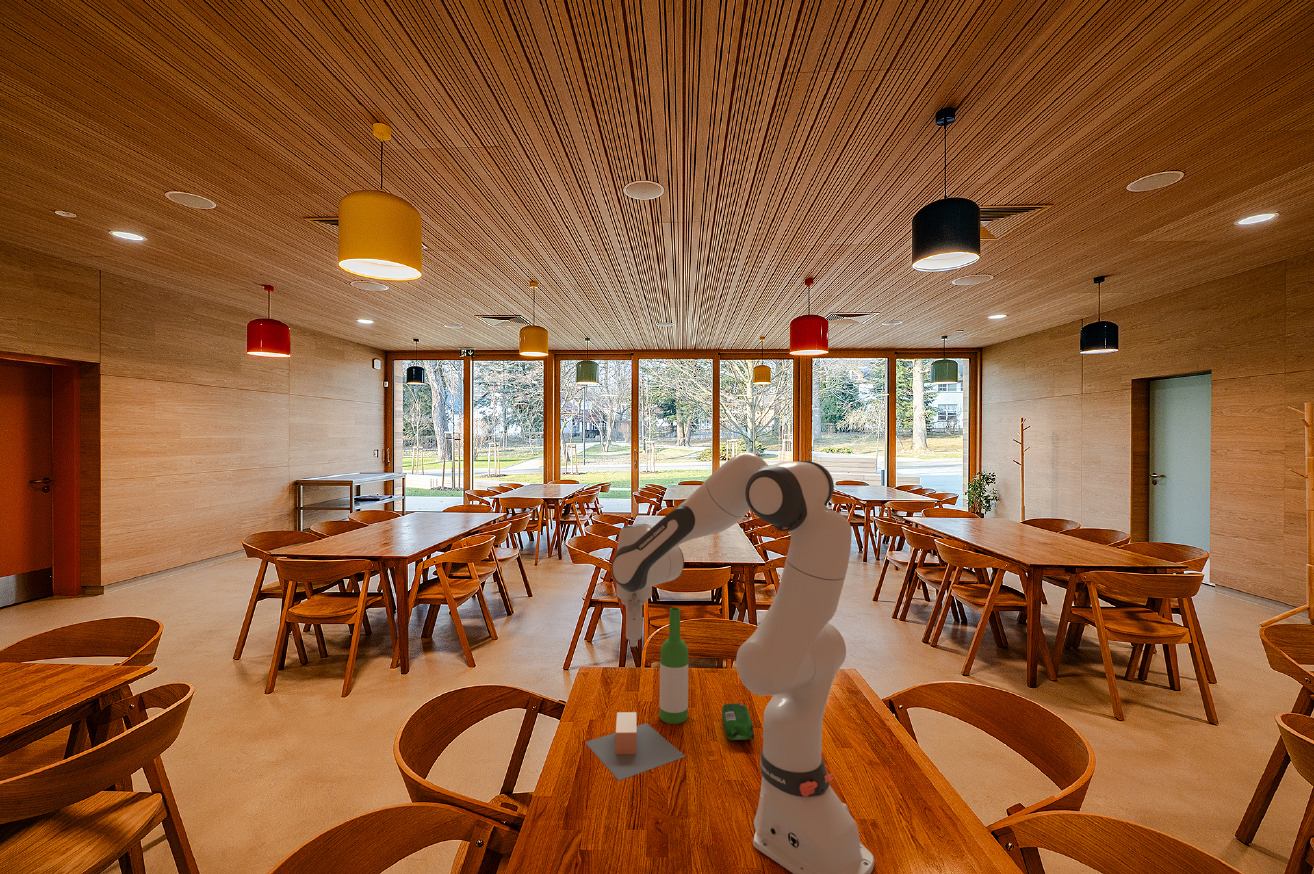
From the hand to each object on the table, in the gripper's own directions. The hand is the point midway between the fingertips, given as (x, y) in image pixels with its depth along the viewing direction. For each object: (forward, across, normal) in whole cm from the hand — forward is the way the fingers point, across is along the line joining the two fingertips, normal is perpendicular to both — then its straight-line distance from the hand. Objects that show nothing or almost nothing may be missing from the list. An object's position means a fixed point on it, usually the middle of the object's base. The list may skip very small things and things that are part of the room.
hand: (633, 644), depth 132 cm
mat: (+25, -2, -1) cm, 25 cm away
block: (+22, -4, +1) cm, 22 cm away
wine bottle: (+25, +13, -12) cm, 31 cm away
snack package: (+25, +6, -28) cm, 38 cm away
